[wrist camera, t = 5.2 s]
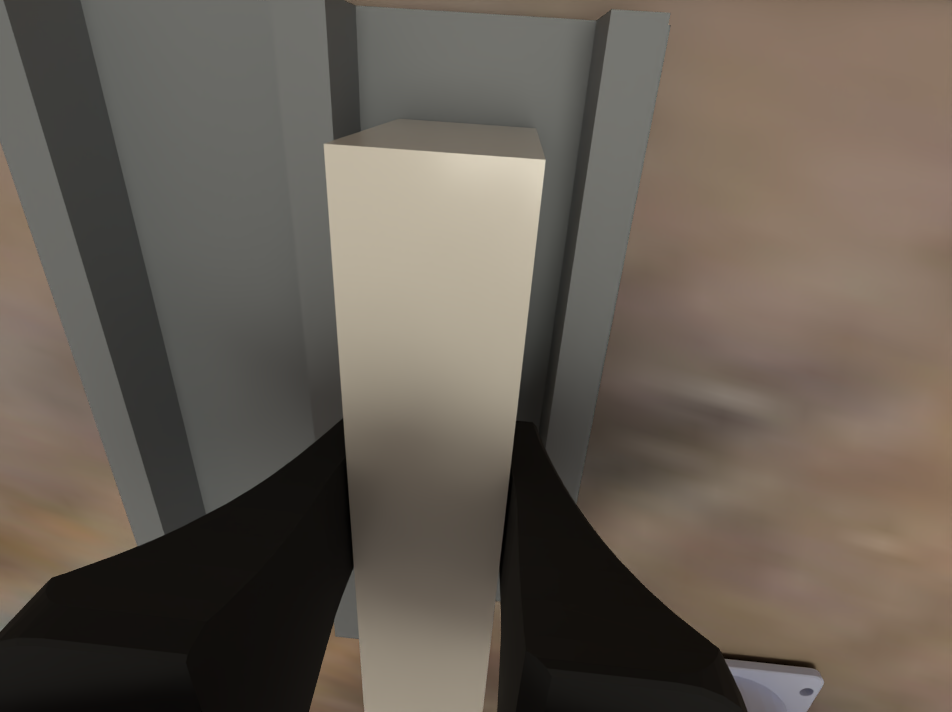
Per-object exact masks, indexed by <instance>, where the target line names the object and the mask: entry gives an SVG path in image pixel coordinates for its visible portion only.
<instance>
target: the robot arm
mask: <svg viewBox="0 0 952 712" xmlns="http://www.w3.org/2000/svg"><path fill="white" fill-rule="evenodd" d="M353 568H354V561H353V547H352V533H351V519H350V505H349V491H348V477H347V463H346V449H345V435H344V421H343V418H342V419H341V420H340V421H339V422H338V423H336V424H335V425H334V426H333V427H332V428H331V429H330V430H328V431H327V432H326V433H325V434H324V435H323V436H321V437H320V438H319V439H318V440H317V441H315V442H314V443H313V444H312V445H310V446H309V447H308V448H307V449H306V450H304V451H303V452H302V453H301V454H299V455H298V456H297V457H296V458H294V459H293V460H292V461H290V462H289V463H287V464H286V465H285V466H283V467H282V468H281V469H279V470H278V471H277V472H275V473H274V474H273V475H271V476H270V477H268V478H267V479H265V480H264V481H262V482H261V483H259V484H258V485H256V486H255V487H253V488H252V489H250V490H248V491H247V492H245V493H243V494H242V495H240V496H238V497H237V498H235V499H233V500H232V501H230V502H228V503H227V504H225V505H223V506H221V507H219V508H217V509H215V510H213V511H211V512H210V513H208V514H206V515H204V516H202V517H200V518H198V519H196V520H194V521H192V522H190V523H188V524H186V525H185V526H183V527H180V528H178V529H176V530H174V531H172V532H170V533H167V534H165V535H163V536H161V537H159V538H156V539H154V540H152V541H149V542H147V543H145V544H142V545H140V546H137V547H135V548H133V549H130V550H128V551H125V552H123V553H120V554H118V555H115V556H112V557H110V558H107V559H104V560H101V561H98V562H96V563H93V564H90V565H87V566H84V567H82V568H79V569H76V570H73V571H71V572H68V573H65V574H62V575H59V576H56V577H53V578H51V579H50V580H49V581H48V582H47V583H46V584H45V585H44V586H43V587H42V588H41V589H40V590H39V591H38V592H37V593H36V594H35V596H34V597H33V598H32V599H31V600H30V601H29V602H28V603H27V604H26V605H25V606H24V607H23V608H22V609H21V610H20V611H19V612H18V614H17V615H16V616H15V617H14V618H13V619H12V620H11V621H10V622H9V623H8V624H7V625H6V626H5V627H4V628H3V629H2V631H1V632H0V712H309V709H310V705H311V702H312V698H313V694H314V691H315V687H316V683H317V680H318V676H319V672H320V668H321V665H322V661H323V657H324V654H325V650H326V647H327V643H328V640H329V636H330V633H331V629H332V626H333V622H334V619H335V616H336V613H337V610H338V607H339V604H340V601H341V598H342V596H343V593H344V591H345V588H346V586H347V583H348V581H349V578H350V576H351V573H352V570H353ZM499 579H500V602H501V647H500V668H499V689H498V709H497V712H807V710H808V709H809V707H810V706H811V704H812V702H813V701H814V699H815V698H816V696H817V694H818V693H819V691H820V689H821V688H822V686H823V684H824V681H823V679H822V677H821V675H820V673H819V671H817V670H816V669H813V668H807V667H798V666H788V665H779V664H770V663H760V662H751V661H742V660H732V659H724V657H723V655H722V653H721V651H720V650H719V648H717V647H716V646H715V645H714V644H712V643H711V642H710V641H709V640H707V639H706V638H705V637H704V636H702V635H701V634H700V633H698V632H697V631H696V630H695V629H693V628H692V627H691V626H690V625H688V624H687V623H686V622H685V621H683V620H682V619H681V618H680V617H678V616H677V615H676V614H675V613H673V612H672V611H671V610H670V609H669V608H668V607H667V606H665V605H664V604H663V603H662V602H661V601H660V600H659V599H658V598H657V597H656V596H654V595H653V594H652V593H651V592H650V591H649V590H648V589H647V588H646V587H645V586H644V585H643V584H642V583H641V582H640V581H639V580H638V579H637V578H636V577H635V576H634V575H633V574H632V573H631V572H630V571H629V570H628V569H627V568H626V567H625V566H624V565H623V564H622V562H621V561H620V560H619V559H618V558H617V557H616V556H615V555H614V553H613V552H612V551H611V550H610V549H609V548H608V546H607V545H606V544H605V543H604V542H603V540H602V539H601V538H600V537H599V535H598V534H597V533H596V531H595V530H594V529H593V528H592V526H591V525H590V524H589V522H588V521H587V519H586V518H585V517H584V515H583V514H582V512H581V511H580V509H579V508H578V506H577V505H576V503H575V502H574V500H573V499H572V497H571V496H570V494H569V492H568V491H567V489H566V487H565V486H564V484H563V482H562V480H561V478H560V477H559V475H558V473H557V471H556V469H555V468H554V466H553V464H552V462H551V460H550V458H549V456H548V454H547V451H546V449H545V447H544V445H543V443H542V440H541V438H540V435H539V432H538V429H537V426H536V425H535V424H534V423H533V422H526V421H516V424H515V433H514V442H513V451H512V459H511V468H510V477H509V486H508V494H507V503H506V512H505V521H504V529H503V538H502V547H501V556H500V564H499Z"/></svg>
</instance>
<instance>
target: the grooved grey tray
mask: <svg viewBox="0 0 952 712" xmlns="http://www.w3.org/2000/svg"><path fill="white" fill-rule="evenodd" d="M669 18H670V13H663V12H647V11H630V10H614V9H611V10H610V11H609V12H607V13H606V14H605V15H603V16H602V17H601V18H599V19H598V20H597V21H595V20H578V19H562V18H546V17H530V16H514V15H498V14H482V13H466V12H449V11H433V10H417V9H401V8H385V7H369V6H355V5H353V4H351V3H348V2H346V1H344V0H0V142H1V145H2V148H3V151H4V154H5V157H6V160H7V163H8V166H9V169H10V172H11V175H12V178H13V181H14V184H15V187H16V190H17V192H18V195H19V198H20V201H21V204H22V207H23V210H24V213H25V216H26V219H27V222H28V225H29V228H30V231H31V234H32V237H33V240H34V243H35V246H36V248H37V251H38V254H39V257H40V260H41V263H42V266H43V269H44V272H45V275H46V278H47V281H48V284H49V287H50V290H51V293H52V296H53V299H54V301H55V304H56V307H57V310H58V313H59V316H60V319H61V322H62V325H63V328H64V331H65V334H66V337H67V340H68V343H69V346H70V349H71V352H72V355H73V357H74V360H75V363H76V366H77V369H78V372H79V375H80V378H81V381H82V384H83V387H84V390H85V393H86V396H87V399H88V402H89V405H90V408H91V410H92V413H93V416H94V419H95V422H96V425H97V428H98V431H99V434H100V437H101V440H102V443H103V446H104V449H105V452H106V455H107V458H108V461H109V464H110V466H111V469H112V472H113V475H114V478H115V481H116V484H117V487H118V490H119V493H120V496H121V499H122V502H123V505H124V508H125V511H126V514H127V517H128V519H129V522H130V525H131V528H132V531H133V534H134V537H135V540H136V543H137V546H140V545H142V544H145V543H147V542H149V541H152V540H154V539H156V538H159V537H161V536H163V535H165V534H167V533H170V532H172V531H174V530H176V529H178V528H180V527H183V526H185V525H186V524H188V523H190V522H192V521H194V520H196V519H198V518H200V517H202V516H204V515H206V514H208V513H210V512H211V511H213V510H215V509H217V508H219V507H221V506H223V505H225V504H227V503H228V502H230V501H232V500H233V499H235V498H237V497H238V496H240V495H242V494H243V493H245V492H247V491H248V490H250V489H252V488H253V487H255V486H256V485H258V484H259V483H261V482H262V481H264V480H265V479H267V478H268V477H270V476H271V475H273V474H274V473H275V472H277V471H278V470H279V469H281V468H282V467H283V466H285V465H286V464H287V463H289V462H290V461H292V460H293V459H294V458H296V457H297V456H298V455H299V454H301V453H302V452H303V451H304V450H306V449H307V448H308V447H309V446H310V445H312V444H313V443H314V442H315V441H317V440H318V439H319V438H320V437H321V436H323V435H324V434H325V433H326V432H327V431H328V430H330V429H331V428H332V427H333V426H334V425H335V424H336V423H338V422H339V421H340V420H341V419H342V418H343V407H342V393H341V379H340V366H339V352H338V338H337V324H336V310H335V296H334V282H333V268H332V254H331V240H330V226H329V212H328V198H327V184H326V170H325V156H324V143H327V142H330V141H333V140H336V139H339V138H342V137H345V136H348V135H351V134H354V133H357V132H360V131H363V130H366V129H369V128H372V127H375V126H378V125H381V124H384V123H387V122H390V121H393V120H396V119H411V120H425V121H439V122H453V123H468V124H482V125H496V126H510V127H525V128H536V130H537V133H538V136H539V139H540V143H541V146H542V149H543V153H544V156H545V159H546V162H545V170H544V179H543V188H542V197H541V206H540V214H539V223H538V232H537V241H536V249H535V258H534V267H533V276H532V284H531V293H530V302H529V311H528V319H527V328H526V337H525V346H524V354H523V363H522V372H521V381H520V389H519V398H518V407H517V416H516V421H526V422H533V423H534V424H535V425H536V426H537V429H538V432H539V435H540V438H541V440H542V443H543V445H544V447H545V449H546V451H547V454H548V456H549V458H550V460H551V462H552V464H553V466H554V468H555V469H556V471H557V473H558V475H559V477H560V478H561V480H562V482H563V484H564V486H565V487H566V489H567V491H568V492H569V494H570V496H571V497H572V499H573V500H574V502H575V503H577V498H578V493H579V488H580V483H581V478H582V473H583V468H584V462H585V457H586V452H587V447H588V442H589V437H590V432H591V427H592V422H593V417H594V412H595V407H596V402H597V396H598V391H599V386H600V381H601V376H602V371H603V366H604V361H605V356H606V351H607V346H608V341H609V336H610V331H611V325H612V320H613V315H614V310H615V305H616V300H617V295H618V290H619V285H620V280H621V275H622V270H623V265H624V259H625V254H626V249H627V244H628V239H629V234H630V229H631V224H632V219H633V214H634V209H635V204H636V199H637V193H638V188H639V183H640V178H641V173H642V168H643V163H644V158H645V153H646V148H647V143H648V138H649V133H650V127H651V122H652V117H653V112H654V107H655V102H656V97H657V92H658V87H659V82H660V77H661V72H662V67H663V62H664V56H665V51H666V46H667V41H668V36H669V31H670V26H671V25H668V23H669ZM495 601H500V579H499V573H498V582H497V591H496V599H495ZM334 625H335V635H336V636H337V637H346V638H355V639H359V630H358V616H357V603H356V589H355V575H354V568H353V570H352V573H351V576H350V578H349V581H348V583H347V586H346V588H345V591H344V593H343V596H342V598H341V601H340V604H339V607H338V610H337V613H336V616H335V619H334Z"/></svg>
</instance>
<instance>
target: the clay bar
mask: <svg viewBox="0 0 952 712" xmlns="http://www.w3.org/2000/svg"><path fill="white" fill-rule="evenodd" d="M324 156H325V170H326V184H327V198H328V212H329V226H330V240H331V254H332V268H333V282H334V296H335V310H336V324H337V338H338V352H339V366H340V379H341V393H342V407H343V421H344V435H345V449H346V463H347V477H348V491H349V505H350V519H351V533H352V547H353V561H354V575H355V589H356V603H357V616H358V630H359V644H360V658H361V672H362V686H363V700H364V712H483V704H484V696H485V687H486V678H487V669H488V661H489V652H490V643H491V634H492V626H493V617H494V608H495V599H496V591H497V582H498V573H499V564H500V556H501V547H502V538H503V529H504V521H505V512H506V503H507V494H508V486H509V477H510V468H511V459H512V451H513V442H514V433H515V424H516V416H517V407H518V398H519V389H520V381H521V372H522V363H523V354H524V346H525V337H526V328H527V319H528V311H529V302H530V293H531V284H532V276H533V267H534V258H535V249H536V241H537V232H538V223H539V214H540V206H541V197H542V188H543V179H544V170H545V162H546V159H545V156H544V153H543V149H542V146H541V143H540V139H539V136H538V133H537V130H536V128H525V127H510V126H496V125H482V124H468V123H453V122H439V121H425V120H411V119H396V120H393V121H390V122H387V123H384V124H381V125H378V126H375V127H372V128H369V129H366V130H363V131H360V132H357V133H354V134H351V135H348V136H345V137H342V138H339V139H336V140H333V141H330V142H327V143H324Z"/></svg>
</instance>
